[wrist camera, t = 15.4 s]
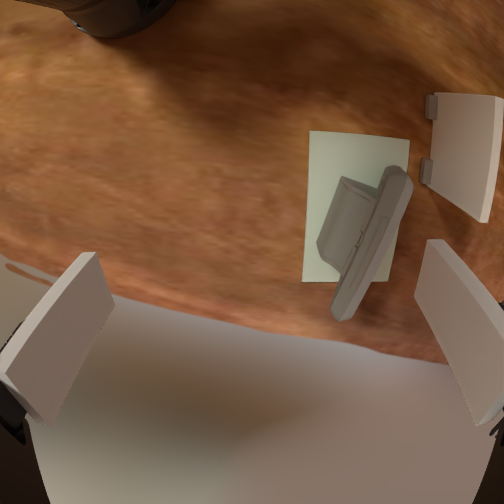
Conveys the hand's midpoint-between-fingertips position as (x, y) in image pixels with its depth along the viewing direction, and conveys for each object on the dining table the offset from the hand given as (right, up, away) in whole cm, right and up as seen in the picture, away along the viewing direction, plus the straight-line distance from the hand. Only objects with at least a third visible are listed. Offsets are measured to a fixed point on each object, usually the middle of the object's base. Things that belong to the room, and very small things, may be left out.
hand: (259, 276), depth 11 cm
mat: (+12, +6, +24) cm, 28 cm away
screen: (+22, +14, +19) cm, 32 cm away
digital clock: (+13, +5, +24) cm, 28 cm away
